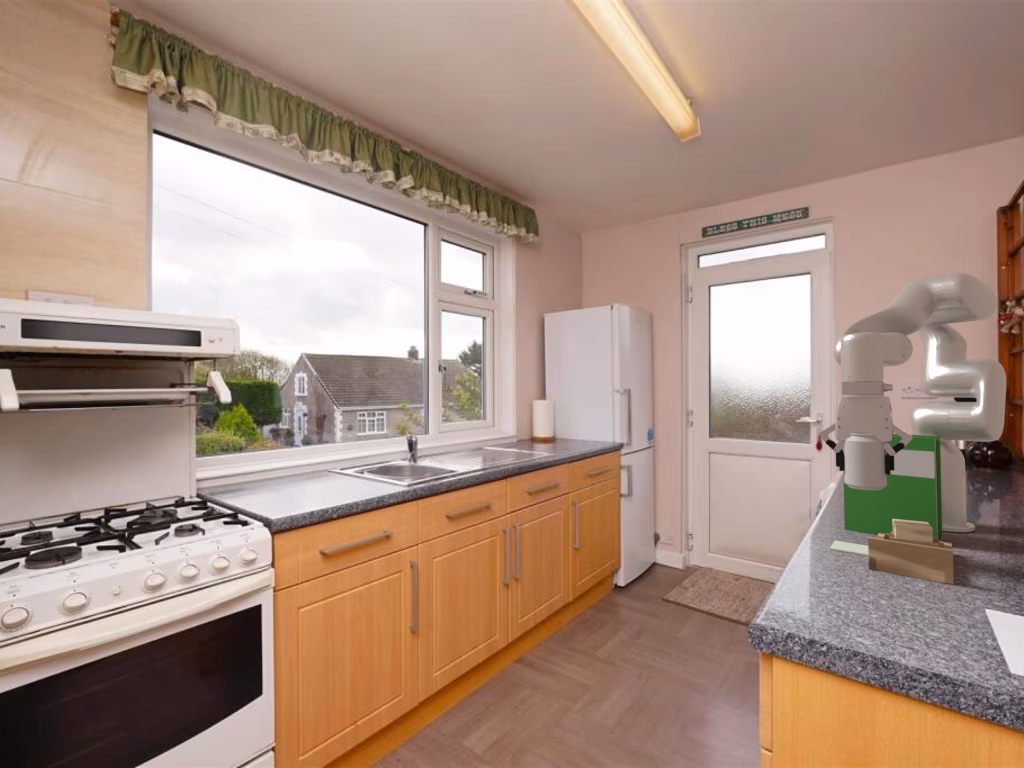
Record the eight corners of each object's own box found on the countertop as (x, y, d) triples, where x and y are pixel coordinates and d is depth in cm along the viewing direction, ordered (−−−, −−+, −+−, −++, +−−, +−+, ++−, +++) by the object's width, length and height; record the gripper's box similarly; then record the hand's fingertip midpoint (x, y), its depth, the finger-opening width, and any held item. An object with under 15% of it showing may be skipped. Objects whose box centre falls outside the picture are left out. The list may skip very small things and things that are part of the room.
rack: (879, 542, 113) (878, 516, 113) (951, 554, 105) (951, 525, 105) (868, 569, 97) (868, 538, 97) (953, 584, 89) (952, 551, 89)
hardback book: (942, 539, 115) (940, 436, 116) (936, 545, 110) (933, 438, 111) (853, 524, 129) (851, 431, 129) (844, 529, 124) (842, 433, 124)
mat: (835, 541, 114) (835, 540, 114) (872, 547, 110) (872, 546, 110) (829, 549, 109) (829, 547, 109) (868, 556, 104) (868, 554, 104)
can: (888, 486, 107) (886, 431, 107) (885, 492, 101) (883, 434, 101) (846, 482, 112) (845, 429, 112) (841, 488, 106) (840, 432, 106)
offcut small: (892, 532, 108) (892, 518, 108) (928, 536, 105) (927, 522, 105) (895, 538, 104) (895, 524, 104) (932, 542, 101) (932, 528, 101)
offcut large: (891, 549, 109) (891, 531, 109) (939, 557, 104) (939, 538, 104) (889, 556, 105) (889, 537, 105) (939, 565, 99) (939, 545, 99)
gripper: (914, 389, 104) (916, 473, 104) (817, 390, 115) (819, 466, 115) (914, 389, 98) (916, 478, 98) (812, 391, 109) (815, 471, 109)
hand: (864, 471), depth 107 cm, fingers closed on can, 7 cm apart
